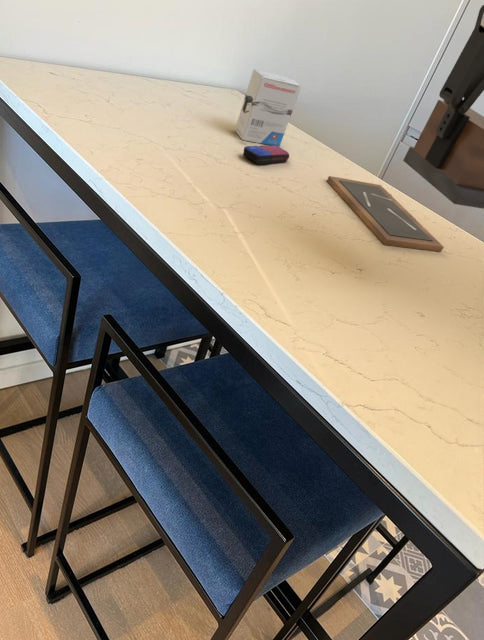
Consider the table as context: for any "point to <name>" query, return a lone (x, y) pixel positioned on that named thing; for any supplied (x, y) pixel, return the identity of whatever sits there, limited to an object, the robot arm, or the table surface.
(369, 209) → the board
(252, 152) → the eraser
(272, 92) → the ink box
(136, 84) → the table surface
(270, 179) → the table surface
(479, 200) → the duster
